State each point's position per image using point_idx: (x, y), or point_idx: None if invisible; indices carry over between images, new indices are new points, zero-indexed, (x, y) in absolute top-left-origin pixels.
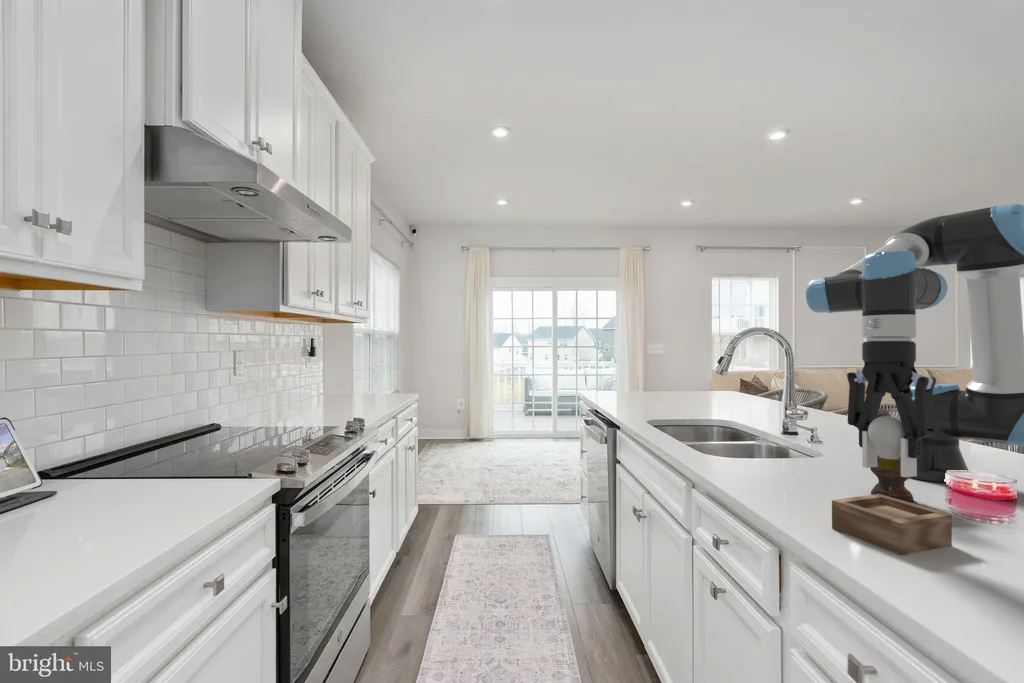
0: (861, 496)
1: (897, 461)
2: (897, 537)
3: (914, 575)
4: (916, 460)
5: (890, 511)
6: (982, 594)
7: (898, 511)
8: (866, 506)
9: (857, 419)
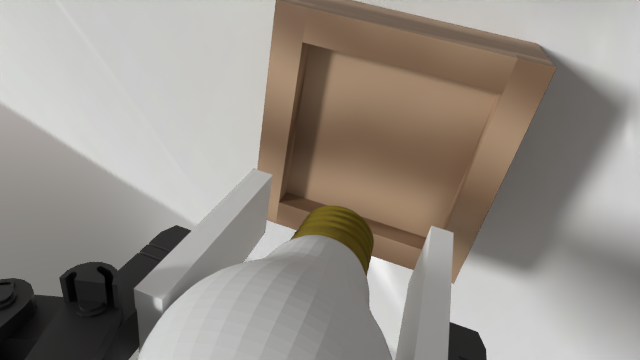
0: (267, 101)
1: (366, 272)
2: None
3: (506, 311)
4: (450, 286)
5: (369, 115)
6: (633, 316)
7: (385, 91)
8: (304, 122)
9: (8, 358)
